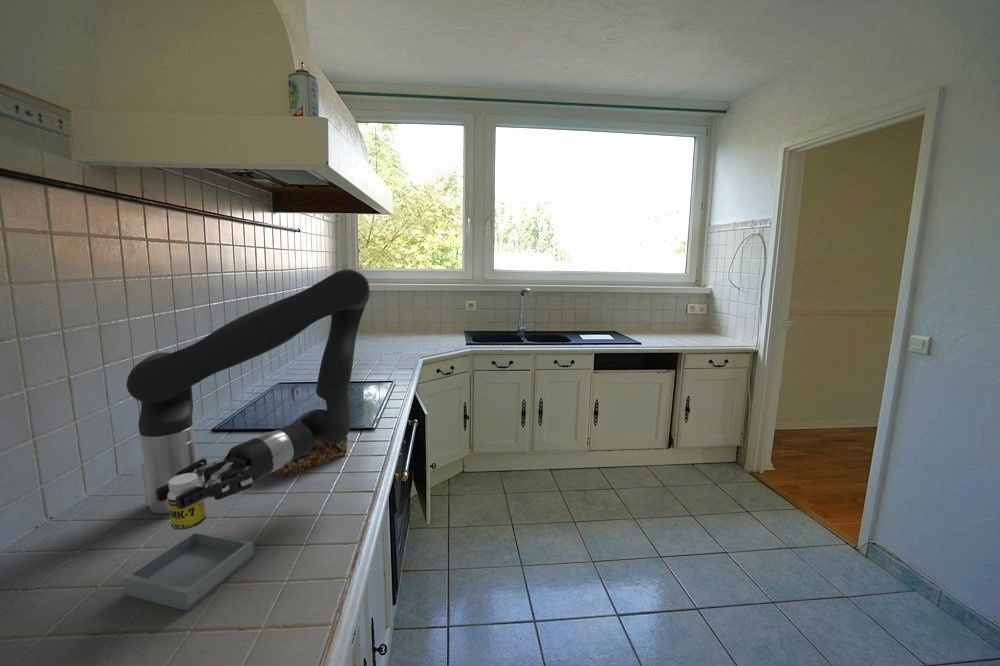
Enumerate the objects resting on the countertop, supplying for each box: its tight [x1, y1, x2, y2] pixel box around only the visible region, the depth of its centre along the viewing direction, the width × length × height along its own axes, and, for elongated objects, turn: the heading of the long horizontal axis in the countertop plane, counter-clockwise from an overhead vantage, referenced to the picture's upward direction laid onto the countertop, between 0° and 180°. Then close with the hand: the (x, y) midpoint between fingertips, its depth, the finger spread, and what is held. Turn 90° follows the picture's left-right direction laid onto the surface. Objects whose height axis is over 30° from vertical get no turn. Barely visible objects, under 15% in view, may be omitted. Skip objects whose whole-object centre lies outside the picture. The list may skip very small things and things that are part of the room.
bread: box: [273, 435, 348, 479], centre depth 119 cm, size 19×11×10 cm, turn 139°
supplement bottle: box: [167, 473, 207, 533], centre depth 75 cm, size 5×5×8 cm
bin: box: [121, 529, 255, 612], centre depth 77 cm, size 13×13×3 cm
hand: (167, 499), depth 72 cm, fingers closed on supplement bottle, 4 cm apart
